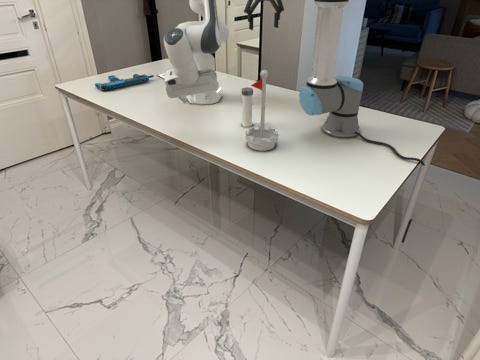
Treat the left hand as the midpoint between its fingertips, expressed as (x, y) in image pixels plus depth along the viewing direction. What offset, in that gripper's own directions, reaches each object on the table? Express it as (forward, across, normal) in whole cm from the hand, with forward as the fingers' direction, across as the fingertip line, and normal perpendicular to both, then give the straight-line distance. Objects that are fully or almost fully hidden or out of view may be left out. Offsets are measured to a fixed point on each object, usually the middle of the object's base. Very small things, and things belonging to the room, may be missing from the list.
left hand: (196, 100), depth 138 cm
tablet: (+41, +21, -73) cm, 87 cm away
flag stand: (+15, -23, +16) cm, 32 cm away
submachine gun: (+32, +56, -67) cm, 93 cm away
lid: (+6, -21, -9) cm, 23 cm away
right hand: (+2, -32, -46) cm, 56 cm away
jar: (+21, -18, -3) cm, 28 cm away
